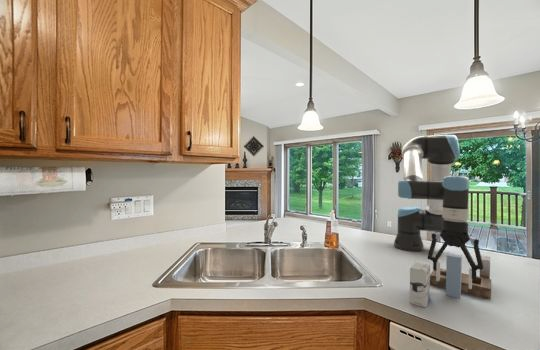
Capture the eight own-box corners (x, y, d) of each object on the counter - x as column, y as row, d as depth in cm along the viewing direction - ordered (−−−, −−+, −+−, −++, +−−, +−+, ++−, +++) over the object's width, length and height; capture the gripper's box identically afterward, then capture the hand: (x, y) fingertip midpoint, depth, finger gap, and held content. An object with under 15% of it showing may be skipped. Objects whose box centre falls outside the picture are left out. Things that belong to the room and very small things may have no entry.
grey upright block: (479, 284, 101) (479, 259, 101) (480, 279, 106) (480, 255, 106) (489, 287, 99) (490, 260, 99) (489, 281, 104) (490, 256, 104)
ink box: (414, 294, 93) (414, 260, 93) (430, 298, 90) (430, 264, 90) (408, 303, 87) (409, 267, 86) (425, 308, 83) (426, 271, 83)
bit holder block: (429, 284, 101) (430, 275, 101) (434, 275, 110) (435, 267, 110) (490, 299, 90) (490, 289, 90) (491, 288, 98) (491, 279, 98)
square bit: (445, 294, 93) (446, 255, 92) (447, 291, 96) (448, 252, 95) (459, 298, 90) (460, 257, 90) (461, 294, 93) (461, 255, 93)
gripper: (418, 217, 97) (417, 278, 97) (494, 225, 83) (493, 297, 83) (422, 215, 102) (421, 272, 103) (494, 222, 88) (493, 289, 89)
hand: (453, 283), depth 93 cm, fingers open, 9 cm apart
